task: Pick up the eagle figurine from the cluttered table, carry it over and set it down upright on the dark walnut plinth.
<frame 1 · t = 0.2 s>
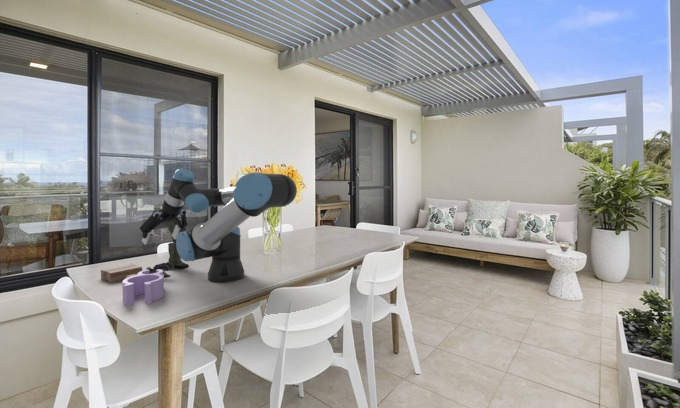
hand: (159, 240, 143), 15 cm above the table, tool tilted 35°, fingers open, 13 cm apart
clip: (146, 295, 116), on the table
plinth: (122, 277, 137), on the table
mechanical leg: (174, 267, 155), on the table
pot: (134, 288, 123), on the table
eagle figurine: (159, 278, 137), on the table
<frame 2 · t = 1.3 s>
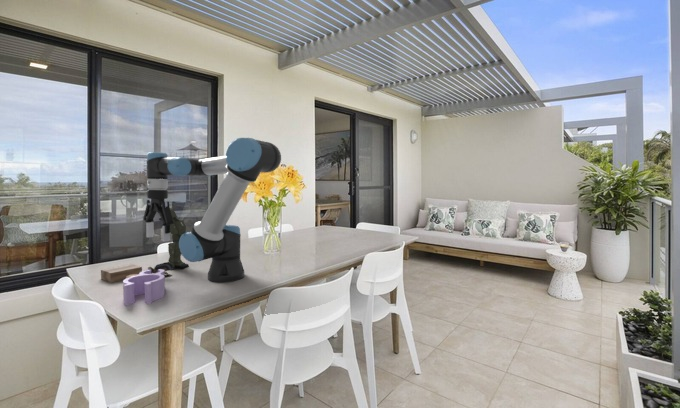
hand: (158, 239, 136), 17 cm above the table, tool pointing down, fingers open, 13 cm apart
nothing on the table moved.
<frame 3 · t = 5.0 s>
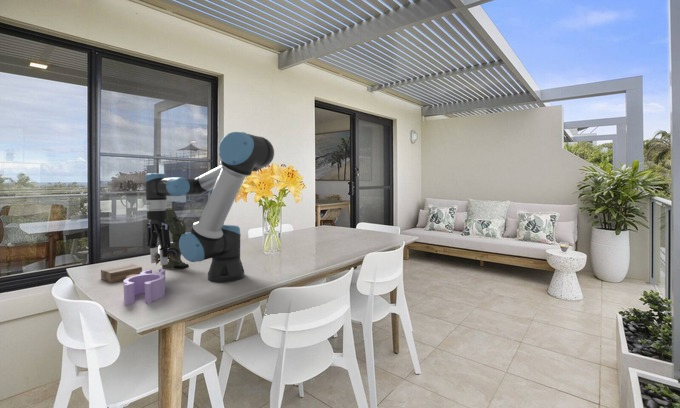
hand: (159, 263, 136), 6 cm above the table, tool pointing down, fingers closed on eagle figurine, 7 cm apart
eagle figurine: (166, 263, 138), point 6 cm above the table, touching gripper
everything else where it was.
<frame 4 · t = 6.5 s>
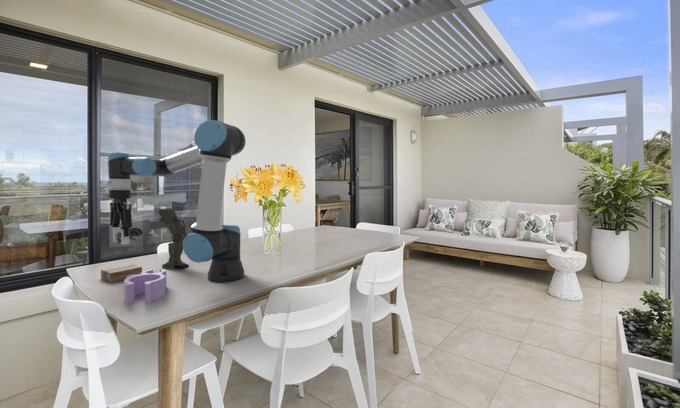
hand: (121, 243, 136), 15 cm above the table, tool pointing down, fingers closed on eagle figurine, 7 cm apart
eagle figurine: (129, 243, 138), point 14 cm above the table, touching gripper
everything else where it was.
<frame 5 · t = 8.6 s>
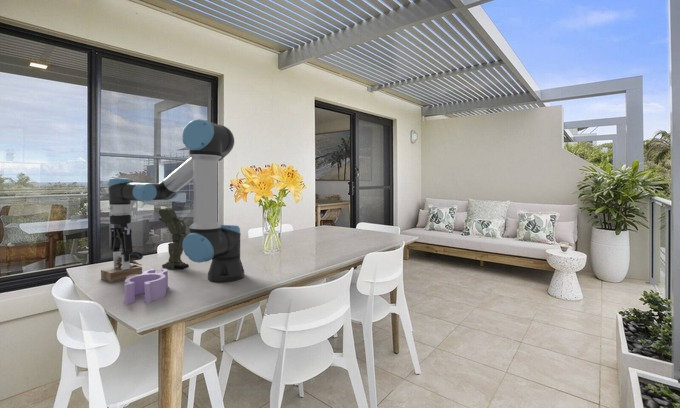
hand: (121, 267, 137), 4 cm above the table, tool pointing down, fingers closed on eagle figurine, 7 cm apart
eagle figurine: (129, 267, 139), point 4 cm above the table, touching gripper, plinth
when the fingers open (4 cm above the table, at t = 9.2 s): eagle figurine stays where it is, resting on plinth.
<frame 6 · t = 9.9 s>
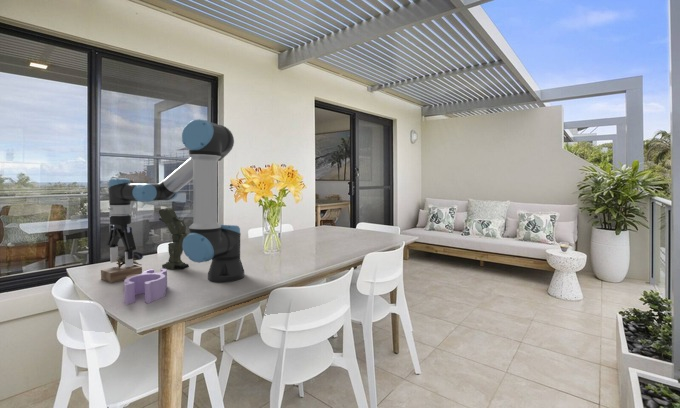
hand: (121, 264, 137), 6 cm above the table, tool pointing down, fingers open, 13 cm apart
eagle figurine: (129, 267, 139), point 4 cm above the table, touching plinth
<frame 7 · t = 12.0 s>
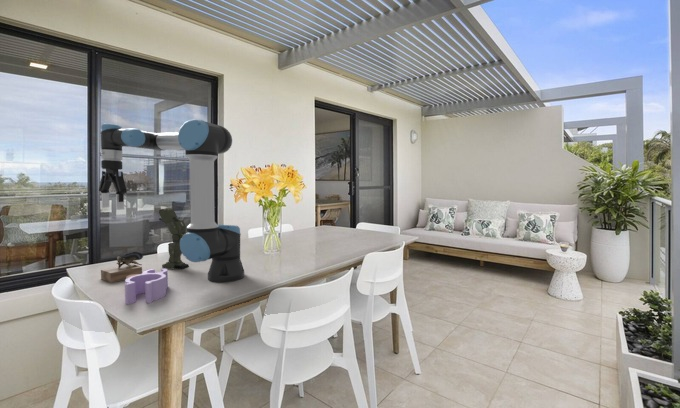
hand: (112, 208, 141), 29 cm above the table, tool pointing down, fingers open, 13 cm apart
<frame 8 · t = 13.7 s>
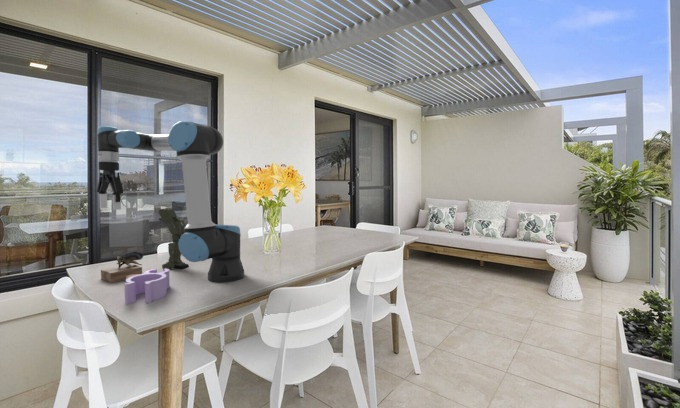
hand: (110, 208, 145), 29 cm above the table, tool pointing down, fingers open, 13 cm apart
at the end: eagle figurine inside the target area on the plinth (3.0 cm from its centre), point 3.8 cm above the plinth's base; eagle figurine tilted 2°; the gripper is holding nothing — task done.
